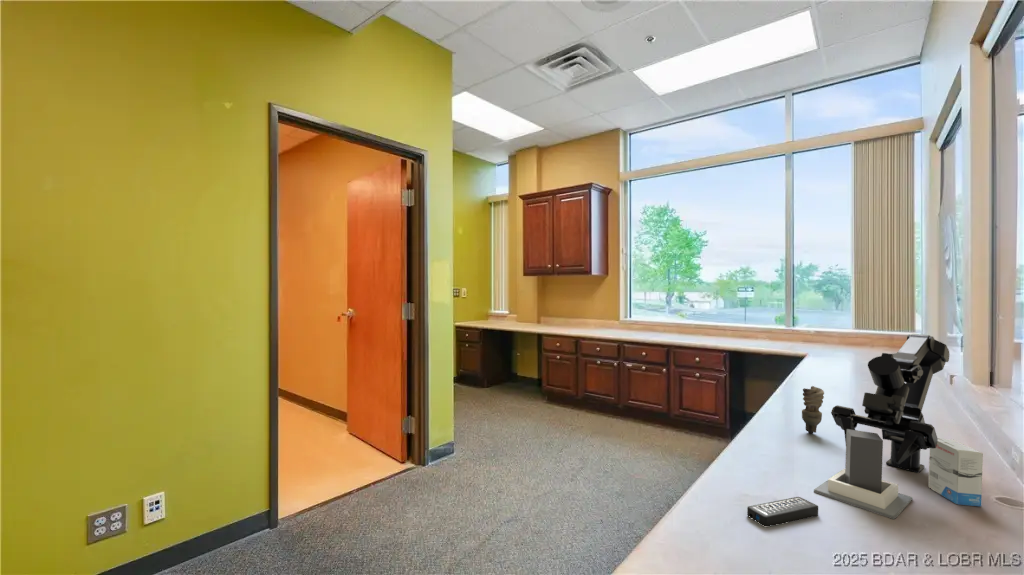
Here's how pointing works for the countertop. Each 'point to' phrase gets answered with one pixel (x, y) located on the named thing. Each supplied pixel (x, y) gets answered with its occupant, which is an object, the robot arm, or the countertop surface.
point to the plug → (864, 460)
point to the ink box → (956, 472)
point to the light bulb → (812, 408)
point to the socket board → (865, 496)
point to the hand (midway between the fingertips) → (871, 456)
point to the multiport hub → (782, 511)
